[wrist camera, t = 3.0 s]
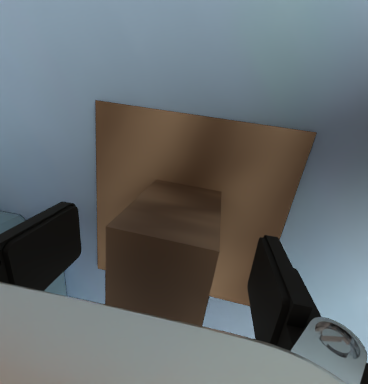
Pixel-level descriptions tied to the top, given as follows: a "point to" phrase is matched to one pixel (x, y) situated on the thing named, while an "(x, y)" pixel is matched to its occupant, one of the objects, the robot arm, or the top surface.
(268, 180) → the lid
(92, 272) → the top surface
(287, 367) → the robot arm
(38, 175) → the top surface
